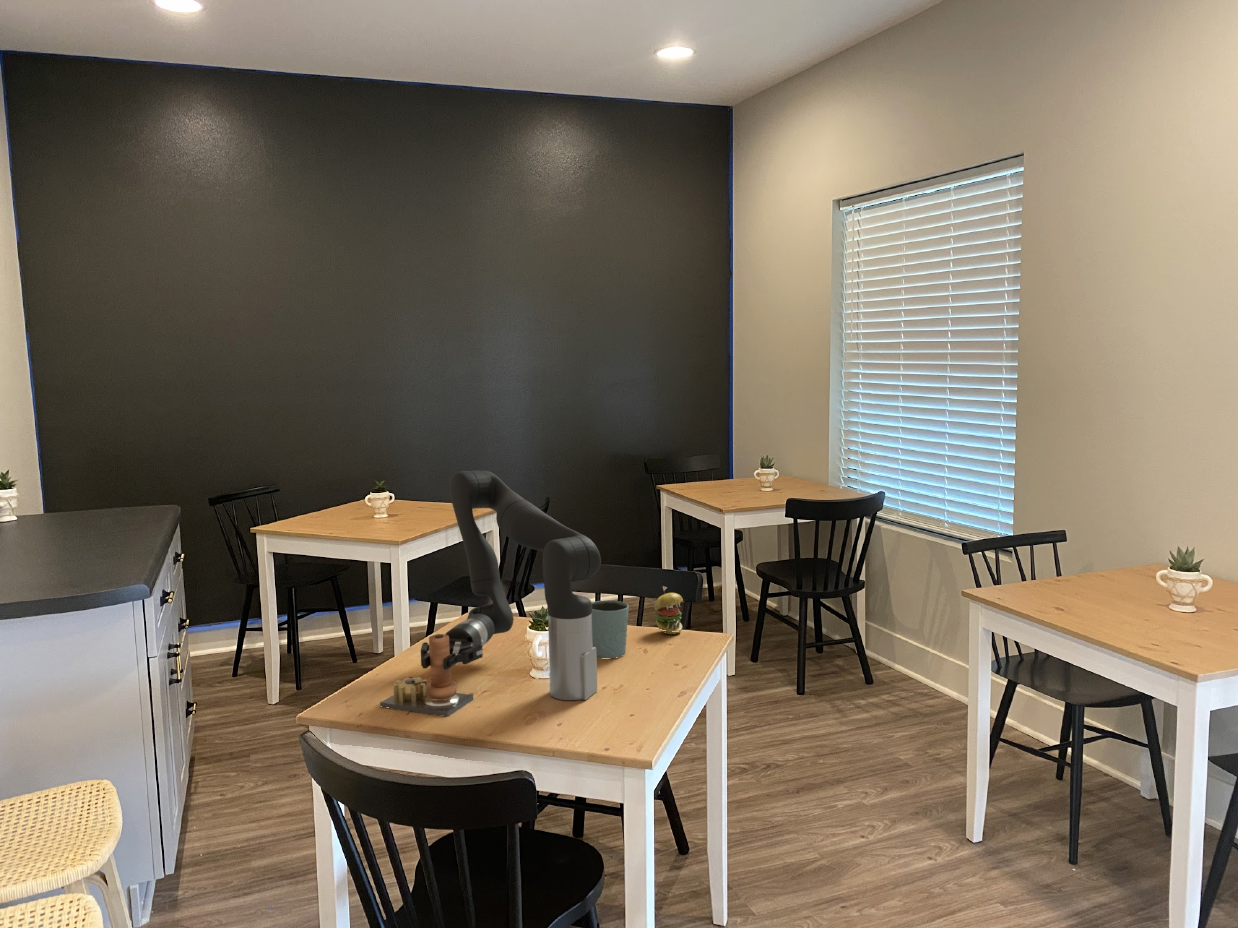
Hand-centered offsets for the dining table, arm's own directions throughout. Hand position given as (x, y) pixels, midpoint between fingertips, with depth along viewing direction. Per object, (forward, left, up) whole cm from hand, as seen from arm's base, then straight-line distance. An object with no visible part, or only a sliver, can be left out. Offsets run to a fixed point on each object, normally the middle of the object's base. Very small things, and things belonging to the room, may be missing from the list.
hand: (434, 664), depth 184 cm
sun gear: (+8, -3, -10) cm, 13 cm away
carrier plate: (+4, -3, -10) cm, 11 cm away
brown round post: (0, -3, -7) cm, 8 cm away
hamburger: (-27, -68, -10) cm, 74 cm away
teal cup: (-19, -46, -10) cm, 50 cm away
